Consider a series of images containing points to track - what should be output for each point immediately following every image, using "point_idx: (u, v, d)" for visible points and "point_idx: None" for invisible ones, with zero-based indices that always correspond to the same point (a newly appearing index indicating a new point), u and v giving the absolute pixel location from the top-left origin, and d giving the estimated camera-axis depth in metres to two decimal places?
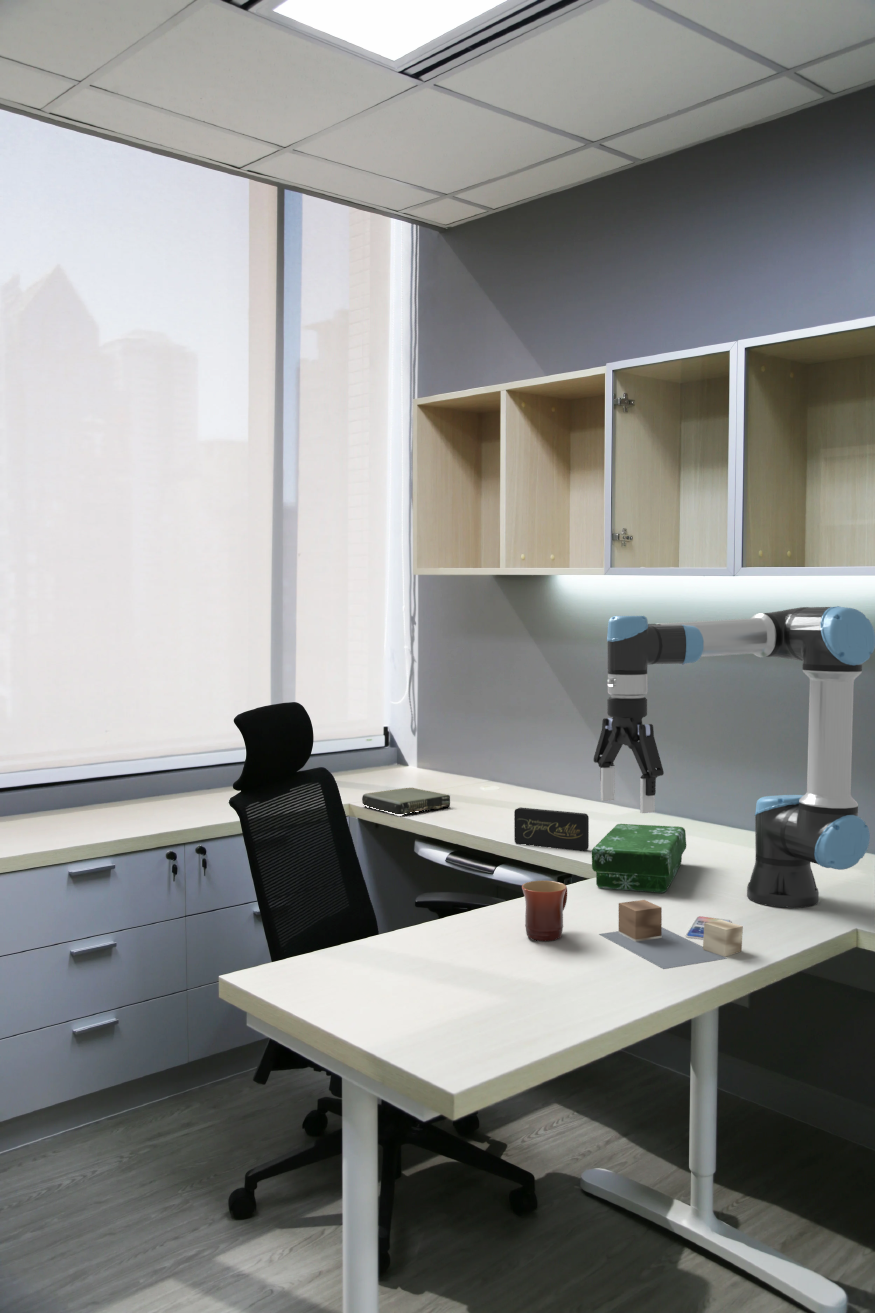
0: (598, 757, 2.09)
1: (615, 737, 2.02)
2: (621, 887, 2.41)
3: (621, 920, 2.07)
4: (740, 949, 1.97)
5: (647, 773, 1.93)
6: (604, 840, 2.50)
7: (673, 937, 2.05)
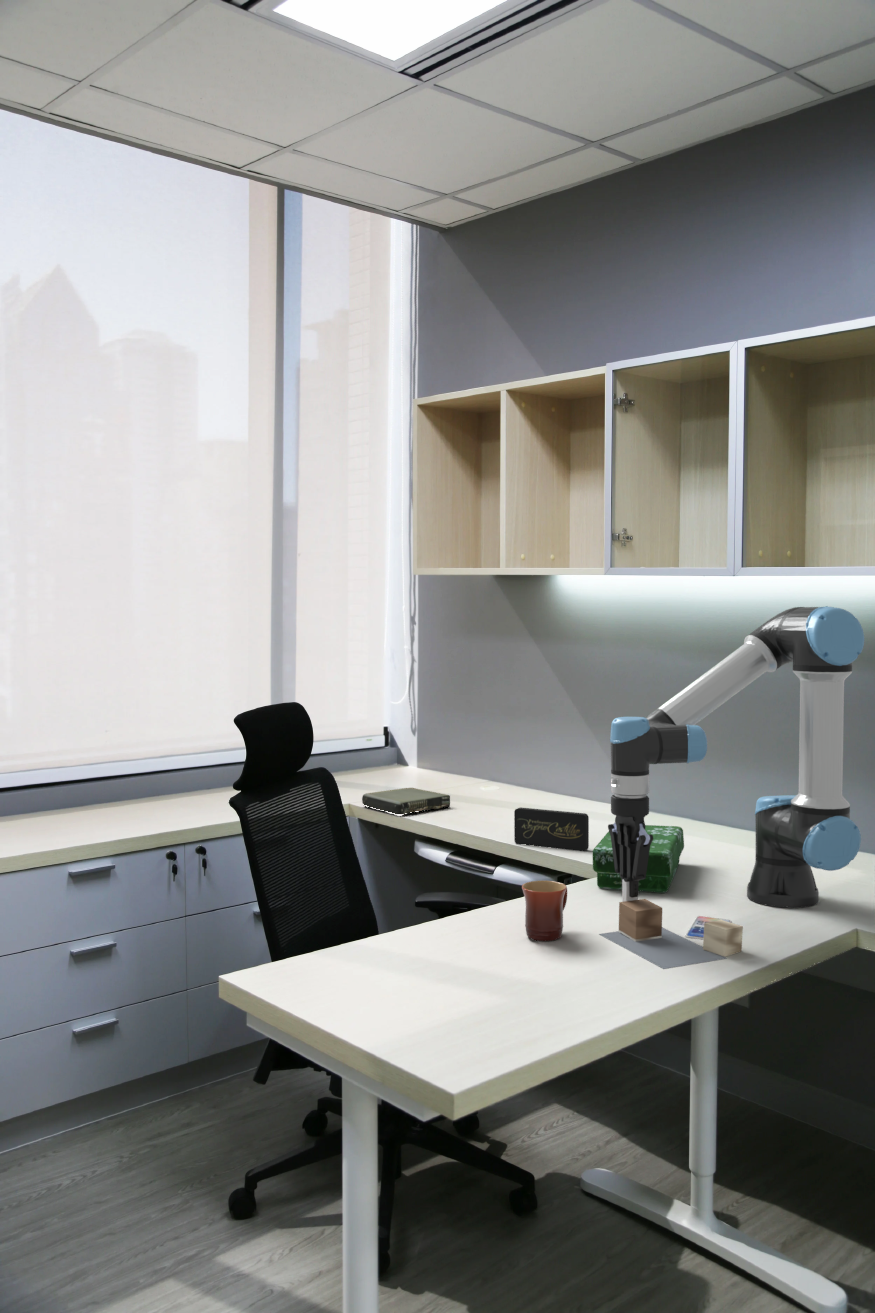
0: (618, 865, 2.12)
1: (622, 835, 2.09)
2: None
3: (622, 919, 2.07)
4: (740, 949, 1.97)
5: (631, 879, 2.08)
6: (604, 840, 2.49)
7: (673, 937, 2.05)
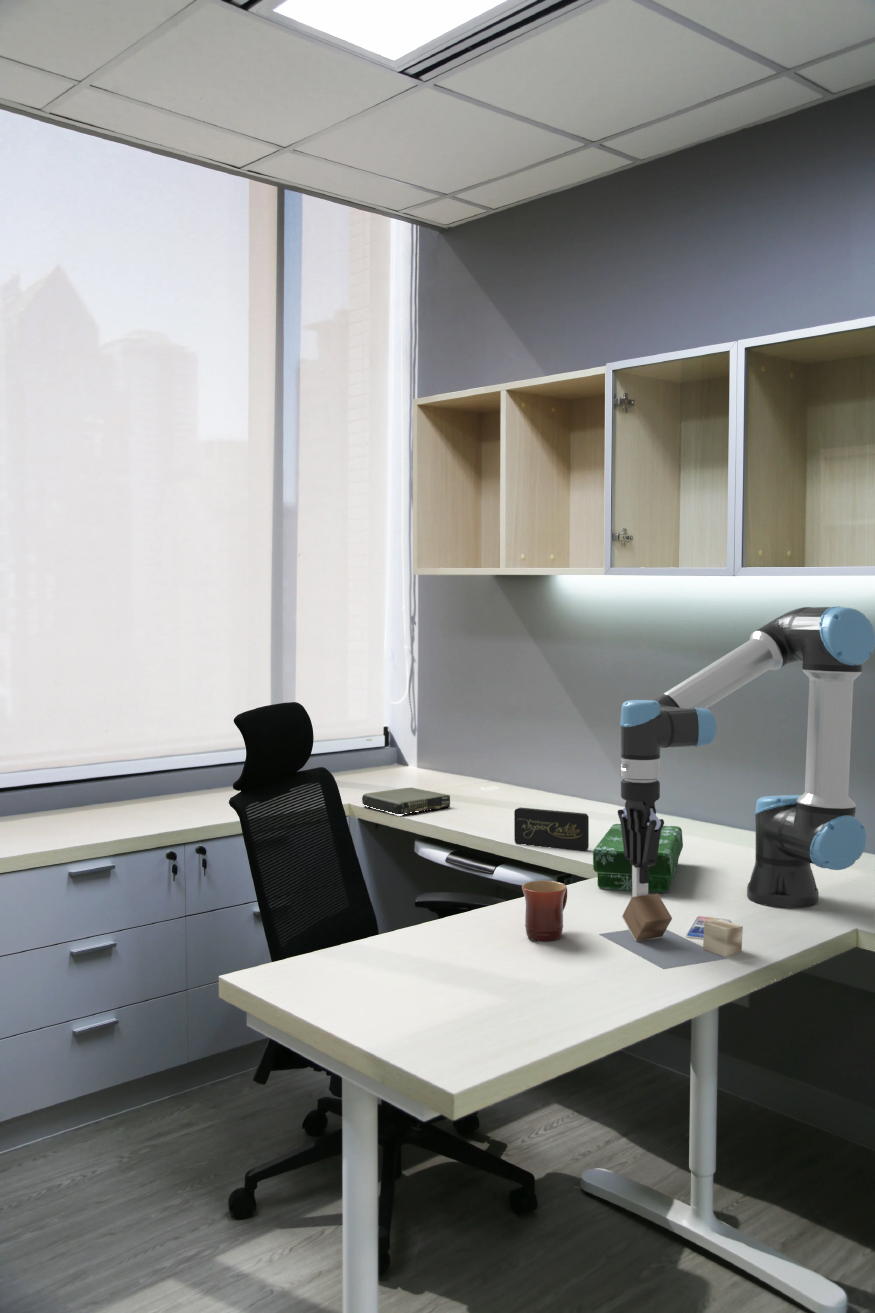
0: (628, 851, 2.08)
1: (632, 820, 2.06)
2: (623, 888, 2.41)
3: (629, 912, 2.05)
4: (740, 949, 1.97)
5: (641, 864, 2.04)
6: (604, 841, 2.49)
7: (673, 937, 2.05)
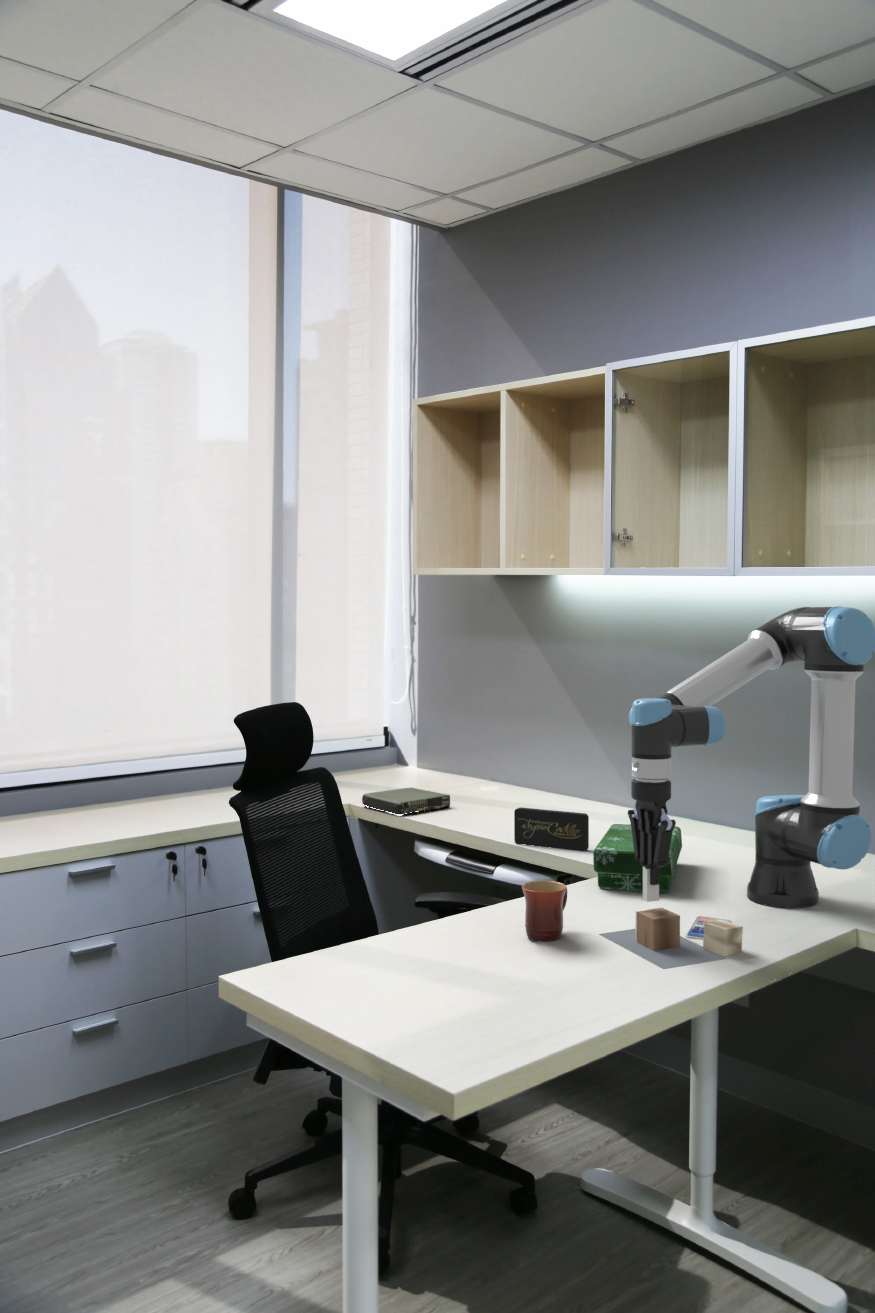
0: (638, 852, 2.05)
1: (642, 820, 2.02)
2: (623, 888, 2.40)
3: (643, 921, 2.00)
4: (740, 949, 1.97)
5: (652, 866, 2.01)
6: (604, 841, 2.49)
7: None
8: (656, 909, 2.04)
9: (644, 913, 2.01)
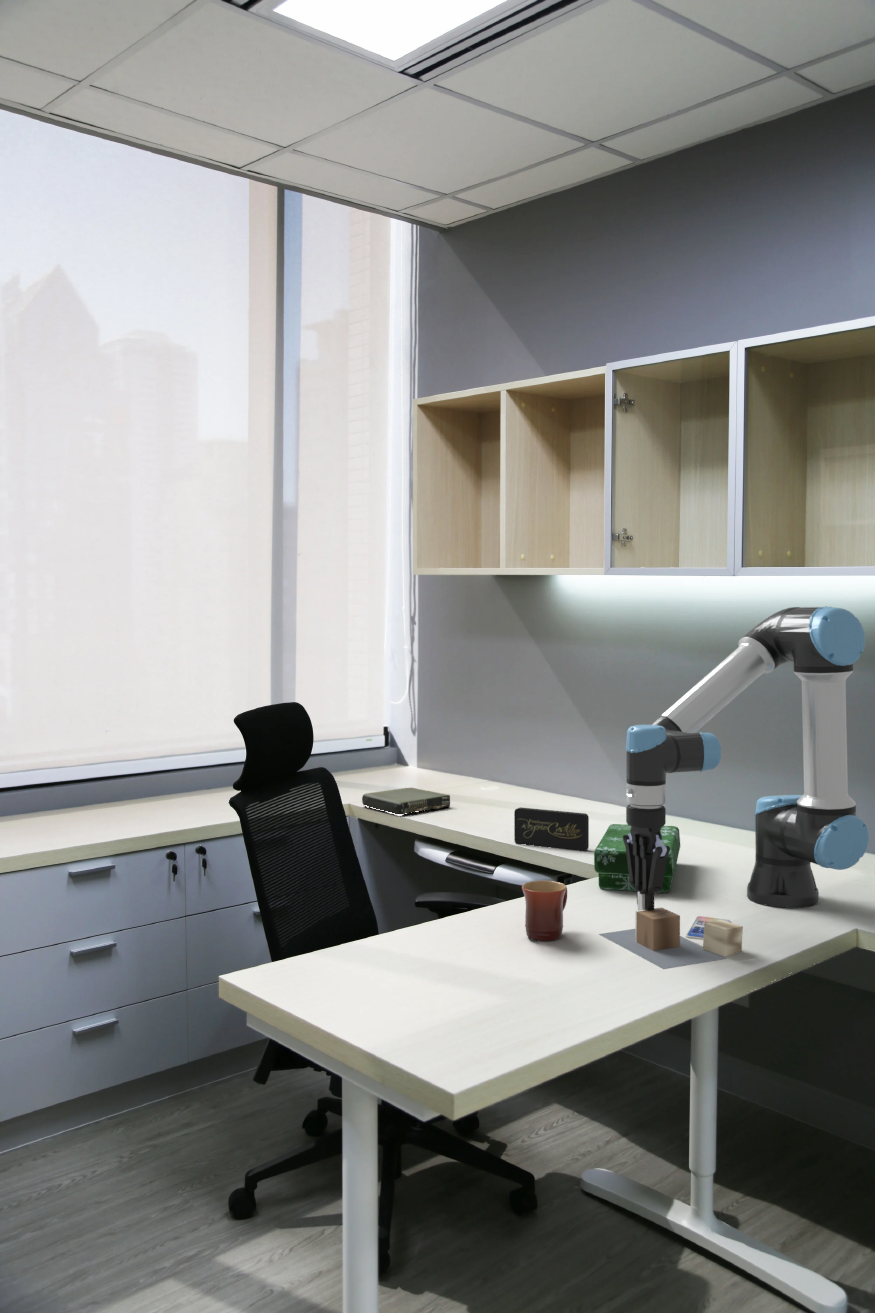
0: (633, 877, 2.07)
1: (637, 846, 2.04)
2: (624, 888, 2.40)
3: (643, 921, 2.00)
4: (740, 949, 1.97)
5: (646, 891, 2.02)
6: (604, 841, 2.49)
7: None
8: (656, 909, 2.04)
9: (644, 913, 2.01)
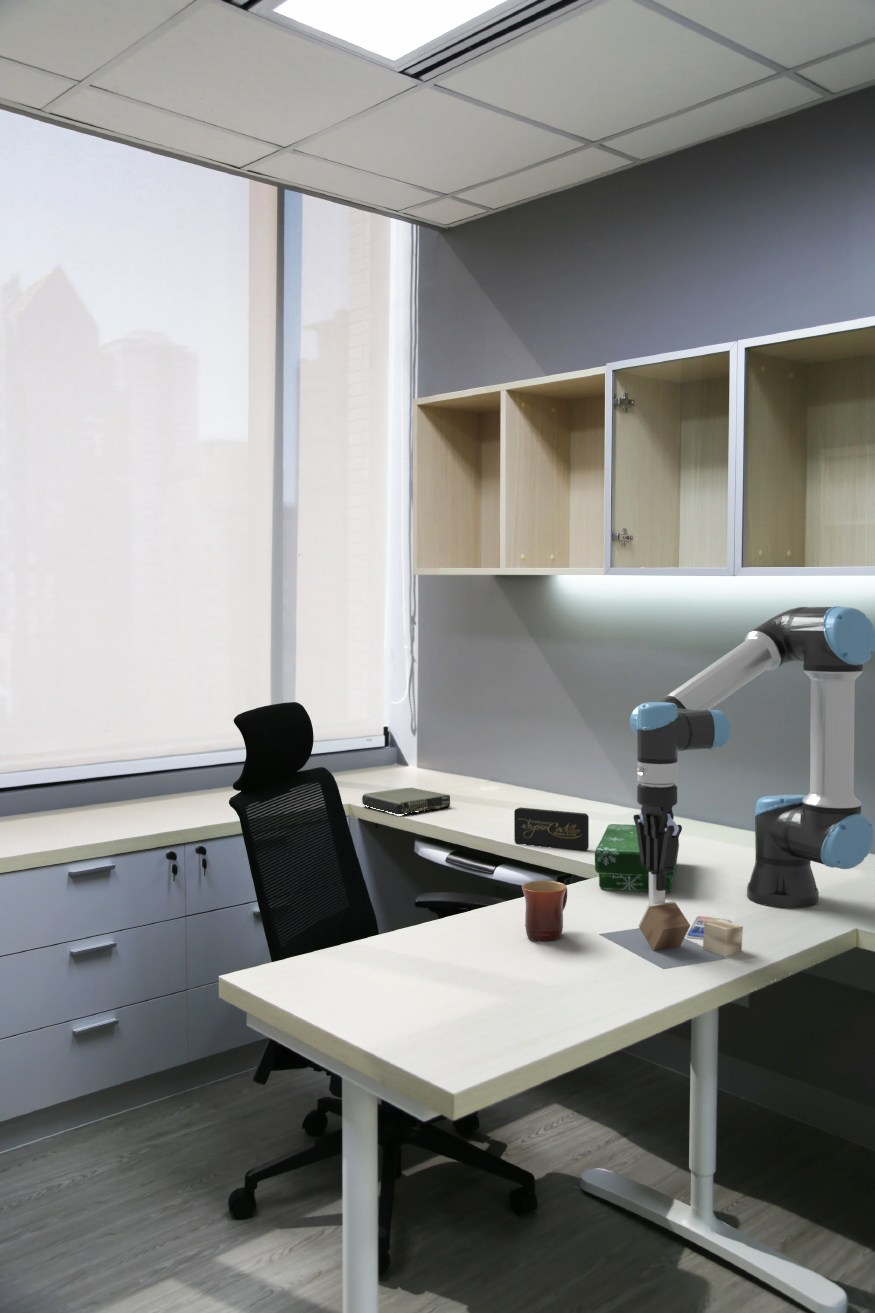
0: (644, 857, 2.03)
1: (648, 825, 2.01)
2: (625, 888, 2.40)
3: (653, 921, 1.97)
4: (740, 949, 1.97)
5: (658, 871, 1.99)
6: (604, 841, 2.49)
7: None
8: (669, 905, 2.00)
9: (656, 913, 1.97)
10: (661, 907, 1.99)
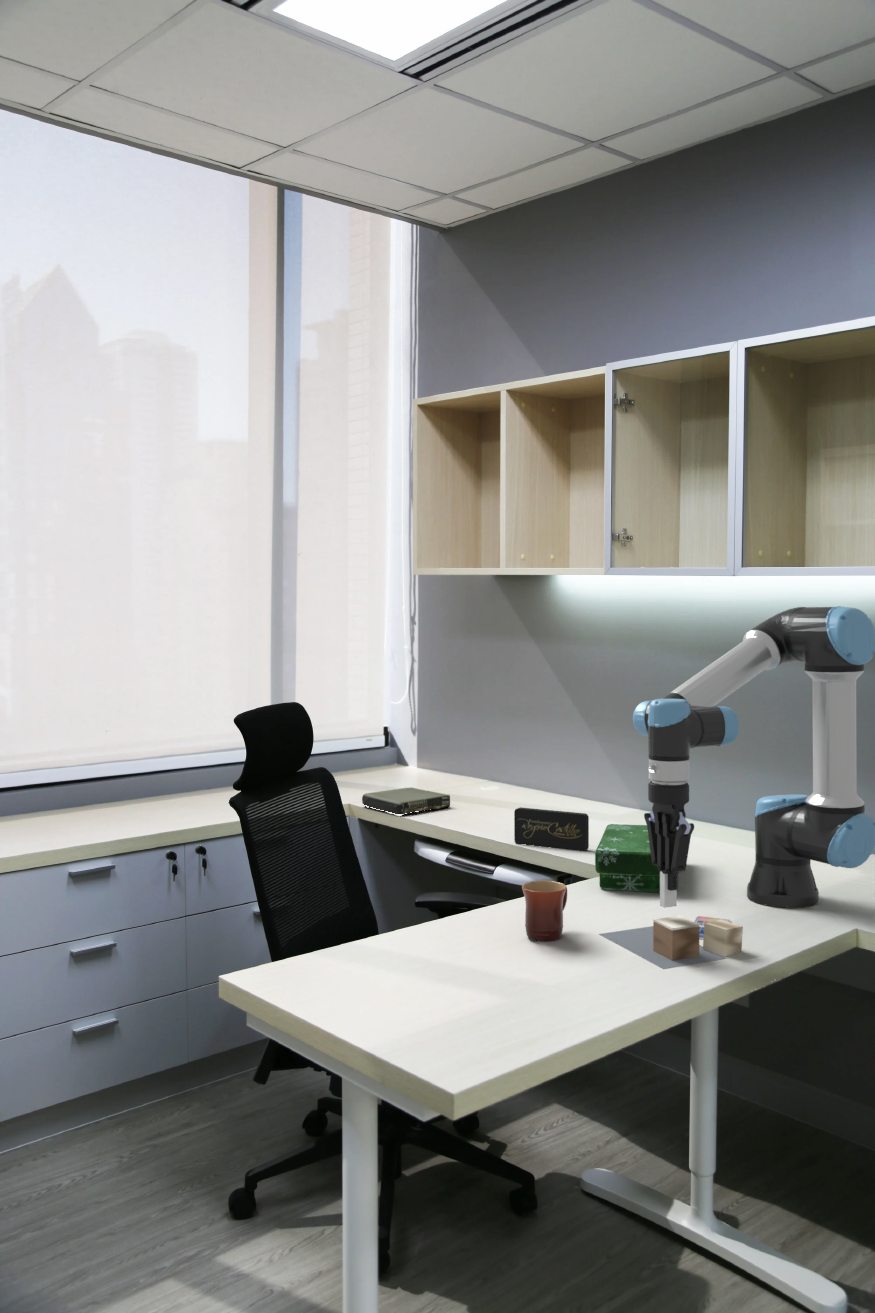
0: (655, 856, 1.99)
1: (660, 824, 1.97)
2: (625, 888, 2.40)
3: (668, 942, 1.93)
4: (740, 949, 1.97)
5: (669, 871, 1.95)
6: (604, 841, 2.48)
7: None
8: (692, 929, 1.93)
9: (675, 939, 1.92)
10: (683, 932, 1.93)
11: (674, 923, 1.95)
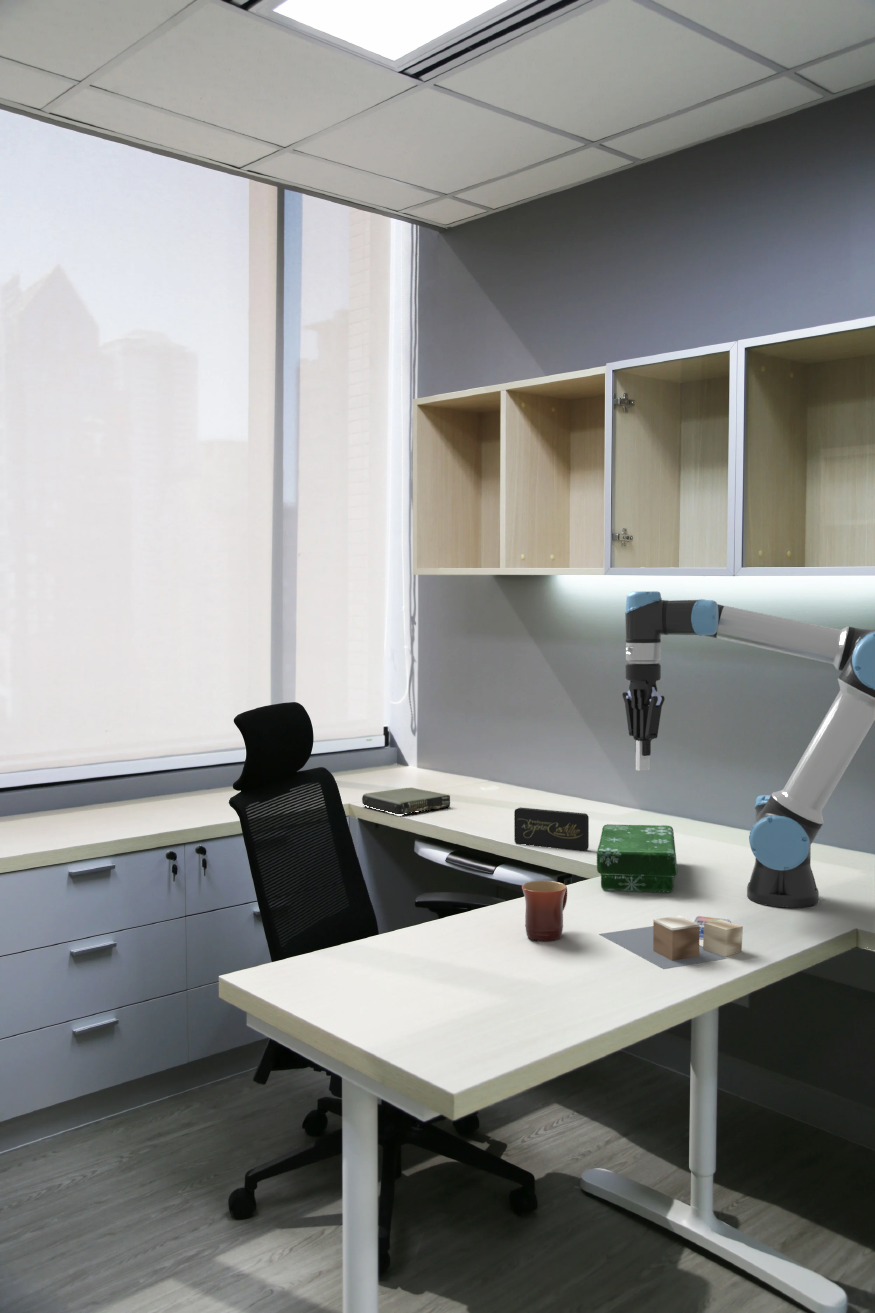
0: (632, 728, 2.31)
1: (635, 699, 2.29)
2: (627, 888, 2.40)
3: (668, 942, 1.93)
4: (740, 949, 1.97)
5: (644, 738, 2.27)
6: (604, 842, 2.48)
7: None
8: (692, 929, 1.93)
9: (675, 939, 1.92)
10: (683, 932, 1.93)
11: (674, 923, 1.95)
